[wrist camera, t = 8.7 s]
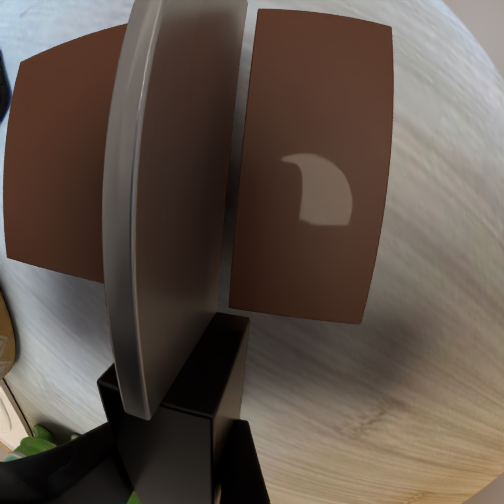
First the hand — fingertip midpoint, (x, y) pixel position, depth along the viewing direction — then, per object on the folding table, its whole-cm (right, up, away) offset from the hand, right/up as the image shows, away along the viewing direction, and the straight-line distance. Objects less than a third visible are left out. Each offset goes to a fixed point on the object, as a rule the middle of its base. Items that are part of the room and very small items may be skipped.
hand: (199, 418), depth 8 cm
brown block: (+4, +8, +2) cm, 9 cm away
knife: (+1, +5, 0) cm, 5 cm away
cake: (-3, +9, +3) cm, 10 cm away
